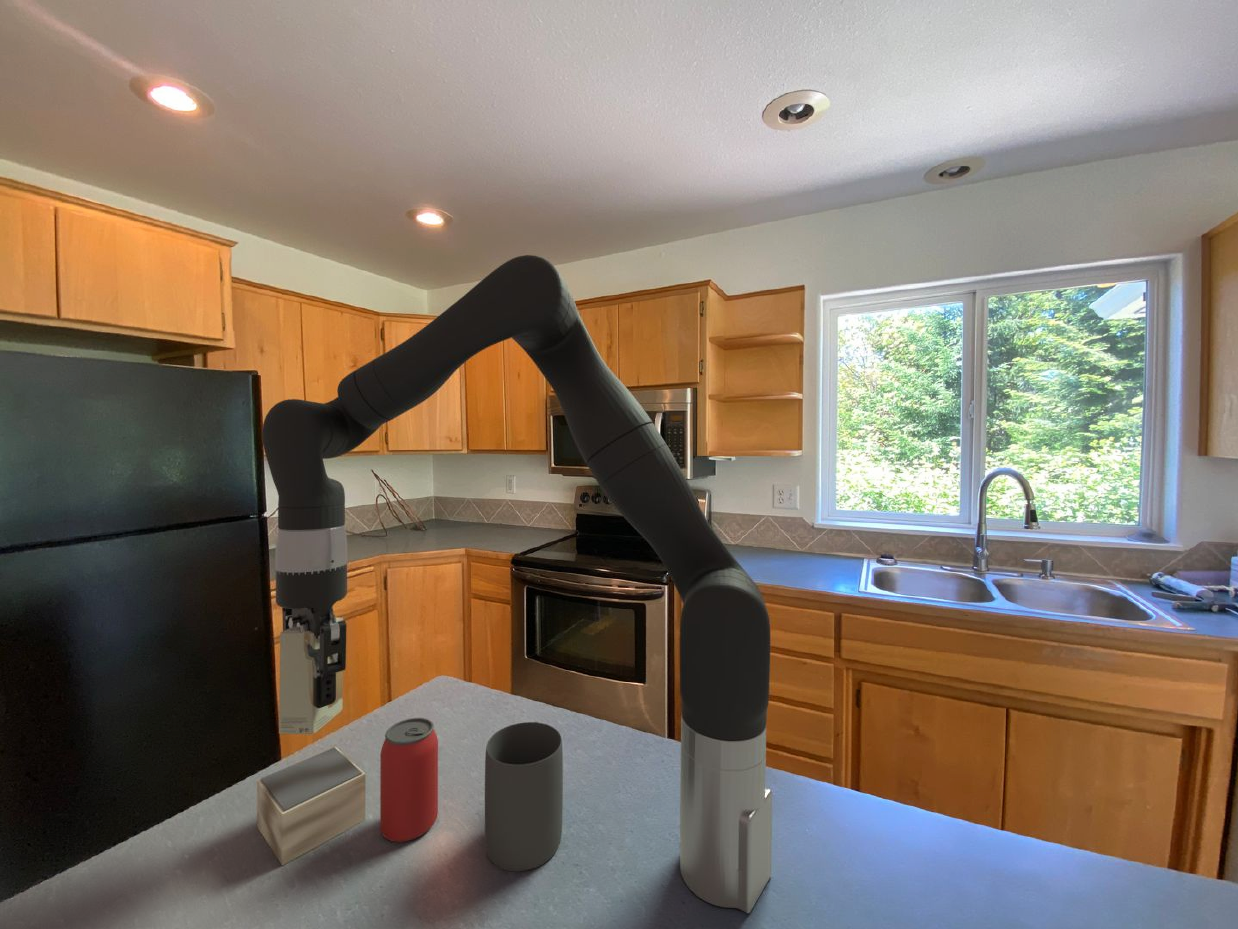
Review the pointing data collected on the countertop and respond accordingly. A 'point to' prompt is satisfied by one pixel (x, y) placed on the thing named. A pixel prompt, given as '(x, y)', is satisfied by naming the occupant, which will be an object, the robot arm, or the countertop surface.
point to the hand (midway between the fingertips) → (312, 695)
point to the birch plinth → (310, 803)
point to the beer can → (408, 780)
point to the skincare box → (302, 686)
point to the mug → (523, 795)
